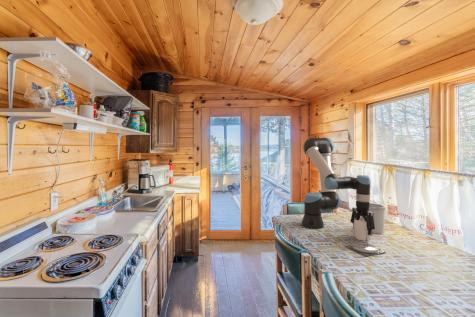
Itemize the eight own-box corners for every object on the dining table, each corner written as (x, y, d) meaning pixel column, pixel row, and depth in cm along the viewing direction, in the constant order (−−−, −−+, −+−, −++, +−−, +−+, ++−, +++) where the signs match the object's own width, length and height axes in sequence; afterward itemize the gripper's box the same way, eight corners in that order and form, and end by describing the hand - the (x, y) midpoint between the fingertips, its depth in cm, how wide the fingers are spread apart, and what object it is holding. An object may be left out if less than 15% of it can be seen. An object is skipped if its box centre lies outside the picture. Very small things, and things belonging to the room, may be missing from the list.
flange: (345, 246, 139) (345, 243, 139) (363, 243, 144) (363, 240, 144) (365, 256, 126) (366, 253, 126) (385, 252, 130) (385, 250, 130)
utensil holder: (380, 235, 157) (380, 208, 156) (356, 229, 168) (356, 204, 167) (388, 230, 167) (388, 205, 166) (365, 225, 178) (365, 201, 177)
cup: (372, 242, 146) (372, 222, 145) (355, 240, 148) (356, 221, 147) (367, 236, 155) (367, 217, 154) (351, 235, 156) (352, 216, 156)
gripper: (344, 197, 159) (343, 232, 160) (373, 205, 139) (372, 244, 140) (353, 197, 161) (352, 231, 162) (383, 204, 141) (381, 242, 142)
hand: (361, 237), depth 151 cm, fingers closed on cup, 9 cm apart
